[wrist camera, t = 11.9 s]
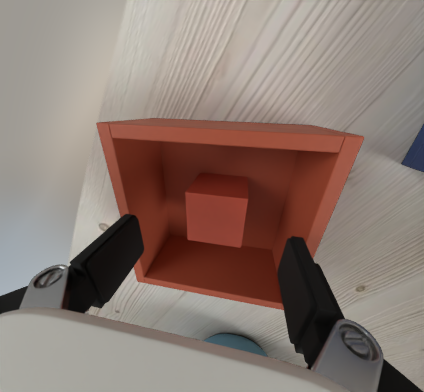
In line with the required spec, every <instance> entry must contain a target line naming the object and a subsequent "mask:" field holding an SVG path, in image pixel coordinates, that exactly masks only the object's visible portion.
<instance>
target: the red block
mask: <svg viewBox="0 0 424 392" xmlns="http://www.w3.org/2000/svg"><path fill="white" fill-rule="evenodd" d="M185 194H186V216H187V238H188V240H192V241H199V242H205V243H212V244H218V245H225V246H232V247H238V248H241V245H242V238H243V231H244V224H245V218H246V211H247V204H248V177H244V176H233V175H222V174H211V173H199V175H198V176H197V177H196V179H195V180H194V181H193V183H192V184H191V186H190V187H189V188H188V190H187V191H186V192H185Z"/></svg>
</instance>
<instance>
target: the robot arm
mask: <svg viewBox="0 0 424 392" xmlns="http://www.w3.org/2000/svg"><path fill="white" fill-rule="evenodd" d="M143 252H144V244H143V239H142V234H141V229H140V225H139V220H138V218H137V217H136V216H135V215H131V214H125V215H123V216H122V217H121V218H120V219H119V220H118V221H116V222H115V223H114V224H113V225H112V226H111V227H110V228H108V229H107V230H106V231H105V232H104V233H103V234H102V235H100V236H99V237H98V238H97V239H96V240H95V241H94V242H92V243H91V244H90V245H89V246H88V247H87V248H85V249H84V250H83V251H82V252H81V253H80V254H79V255H77V256H76V257H75V258H74V259H73V260H72V261H71V262H70V264H71V265H70V266H69V267H67V266H66V265H55V266H51V267H49V268H47V269H45V270H43V271H41V272H40V273H38V274H37V275H36V276H35V277H34V278H33V279H32V280H31V282H30V283H29V285H28V286H26V287H23V288H21V289H18V290H15V291H13V292H10V293H8V294H5V295H2V296H0V392H423V391H422V390H421V389H419V388H418V387H417V386H416V385H415V384H413V383H412V382H411V381H410V380H409V379H407V378H406V377H405V376H404V375H403V374H401V373H400V372H399V371H398V370H397V369H395V368H394V367H393V366H392V365H391V364H389V363H388V362H387V361H386V360H385V359H383V353H382V350H381V347H380V346H379V344H378V342H377V341H376V339H375V338H374V337H373V336H372V335H371V334H370V333H369V332H368V331H367V330H366V329H365V328H364V327H362V326H361V325H359V324H357V323H356V322H354V321H351V320H348V319H345V318H344V316H343V314H342V312H341V309H340V307H339V305H338V303H337V301H336V299H335V297H334V295H333V293H332V290H331V288H330V286H329V284H328V282H327V280H326V278H325V276H324V274H323V271H322V269H321V267H320V266H319V265H318V264H316V263H314V261H313V258H312V256H311V254H310V252H309V249H308V247H307V245H306V243H305V240H304V239H303V238H302V237H295V236H291V238H288V239H287V241H286V244H285V247H284V251H283V254H282V257H281V260H280V264H279V267H278V271H277V276H278V281H279V286H280V292H281V297H282V302H283V307H284V313H285V318H286V323H287V328H288V334H289V339H290V342H291V343H292V344H294V346H295V351H296V353H300V354H304V358H305V362H306V363H307V364H308V365H307V366H306V368H304V367H300V366H297V365H294V364H291V363H288V362H285V361H281V360H277V359H273V358H269V357H265V356H262V355H258V354H254V353H250V352H246V351H242V350H238V349H234V348H230V347H225V346H221V345H217V344H213V343H209V342H205V341H201V340H196V339H192V338H188V337H184V336H179V335H175V334H171V333H167V332H162V331H158V330H154V329H150V328H145V327H141V326H137V325H133V324H128V323H124V322H119V321H115V320H111V319H106V318H102V317H98V316H93V315H89V314H88V311H89V308H90V307H91V306H93V307H98V308H102V307H103V305H104V304H105V303H107V302H108V301H109V300H110V299H111V298H112V296H113V295H114V293H115V292H116V291H117V289H118V288H119V286H120V285H121V284H122V282H123V281H124V279H125V278H126V277H127V275H128V274H129V272H130V271H131V269H132V268H133V267H134V265H135V264H136V262H137V261H138V260H139V258H140V257H141V255H142V254H143Z"/></svg>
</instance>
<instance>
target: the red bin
mask: <svg viewBox="0 0 424 392" xmlns="http://www.w3.org/2000/svg"><path fill="white" fill-rule="evenodd" d="M96 124H97V128H98V132H99V136H100V140H101V143H102V147H103V151H104V155H105V159H106V163H107V166H108V170H109V174H110V178H111V182H112V186H113V190H114V193H115V197H116V201H117V205H118V209H119V213H120V216H121V217H122V216H123V215H125V214H131V215H135V216H136V217H137V218H138V220H139V225H140V229H141V234H142V239H143V244H144V252H143V254H142V255H141V257H140V258H139V260H138V261H137V262H136V264H135V265H134V270H135V274H136V278H137V281H138V282H143V283H148V284H153V285H158V286H163V287H168V288H174V289H179V290H184V291H189V292H194V293H199V294H204V295H209V296H214V297H219V298H225V299H230V300H235V301H240V302H245V303H250V304H255V305H260V306H265V307H271V308H276V309H281V310H284V307H283V302H282V297H281V292H280V286H279V281H278V276H277V271H278V267H279V264H280V260H281V257H282V254H283V251H284V247H285V244H286V241H287V239H288V238H291V236H295V237H302V238H303V239H304V240H305V243H306V245H307V247H308V249H309V252H310V254H311V256H312V258H313V257H314V255H315V253H316V250H317V248H318V246H319V243H320V241H321V239H322V236H323V234H324V232H325V229H326V227H327V225H328V222H329V220H330V217H331V215H332V213H333V210H334V208H335V206H336V203H337V201H338V199H339V196H340V194H341V192H342V189H343V187H344V185H345V182H346V180H347V178H348V175H349V173H350V170H351V168H352V166H353V163H354V161H355V159H356V156H357V154H358V152H359V149H360V147H361V145H362V142H363V140H364V137H363V136H359V135H354V134H350V133H345V132H341V131H336V130H331V129H327V128H322V127H318V126H313V125H295V124H273V123H250V122H228V121H206V120H183V119H161V118H150V119H138V120H125V121H112V122H100V123H96ZM199 173H211V174H222V175H233V176H244V177H248V204H247V211H246V218H245V224H244V231H243V238H242V245H241V248H238V247H232V246H225V245H218V244H212V243H205V242H199V241H192V240H188V238H187V216H186V194H185V192H186V191H187V190H188V188H189V187H190V186H191V184H192V183H193V181H194V180H195V179H196V177H197V176H198V175H199Z"/></svg>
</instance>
